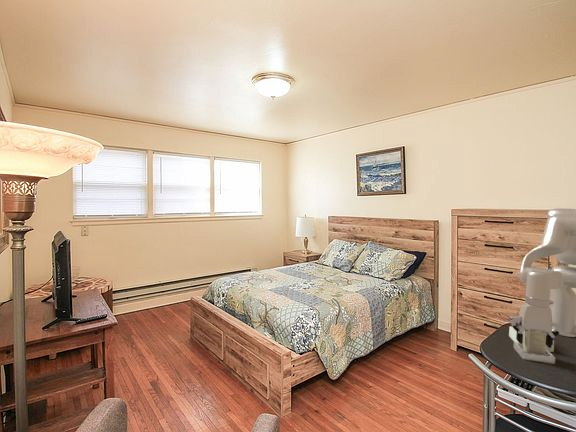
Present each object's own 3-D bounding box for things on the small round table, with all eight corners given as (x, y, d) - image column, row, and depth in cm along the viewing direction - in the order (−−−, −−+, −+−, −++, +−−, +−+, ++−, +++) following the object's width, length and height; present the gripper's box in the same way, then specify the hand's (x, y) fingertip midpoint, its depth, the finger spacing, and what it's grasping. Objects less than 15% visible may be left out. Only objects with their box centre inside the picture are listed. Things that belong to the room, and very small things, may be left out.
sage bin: (539, 340, 142) (540, 330, 142) (553, 352, 131) (554, 341, 131) (508, 335, 146) (509, 326, 146) (519, 347, 134) (520, 336, 134)
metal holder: (542, 351, 131) (542, 345, 131) (554, 364, 121) (555, 357, 121) (513, 347, 134) (513, 341, 134) (523, 359, 124) (523, 353, 124)
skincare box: (540, 354, 129) (542, 324, 128) (545, 359, 124) (547, 329, 124) (521, 351, 131) (523, 322, 130) (526, 356, 126) (528, 326, 126)
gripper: (558, 302, 127) (555, 344, 128) (508, 296, 132) (505, 337, 133) (568, 308, 120) (565, 352, 121) (515, 302, 125) (512, 344, 126)
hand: (533, 344), depth 127 cm, fingers open, 9 cm apart
